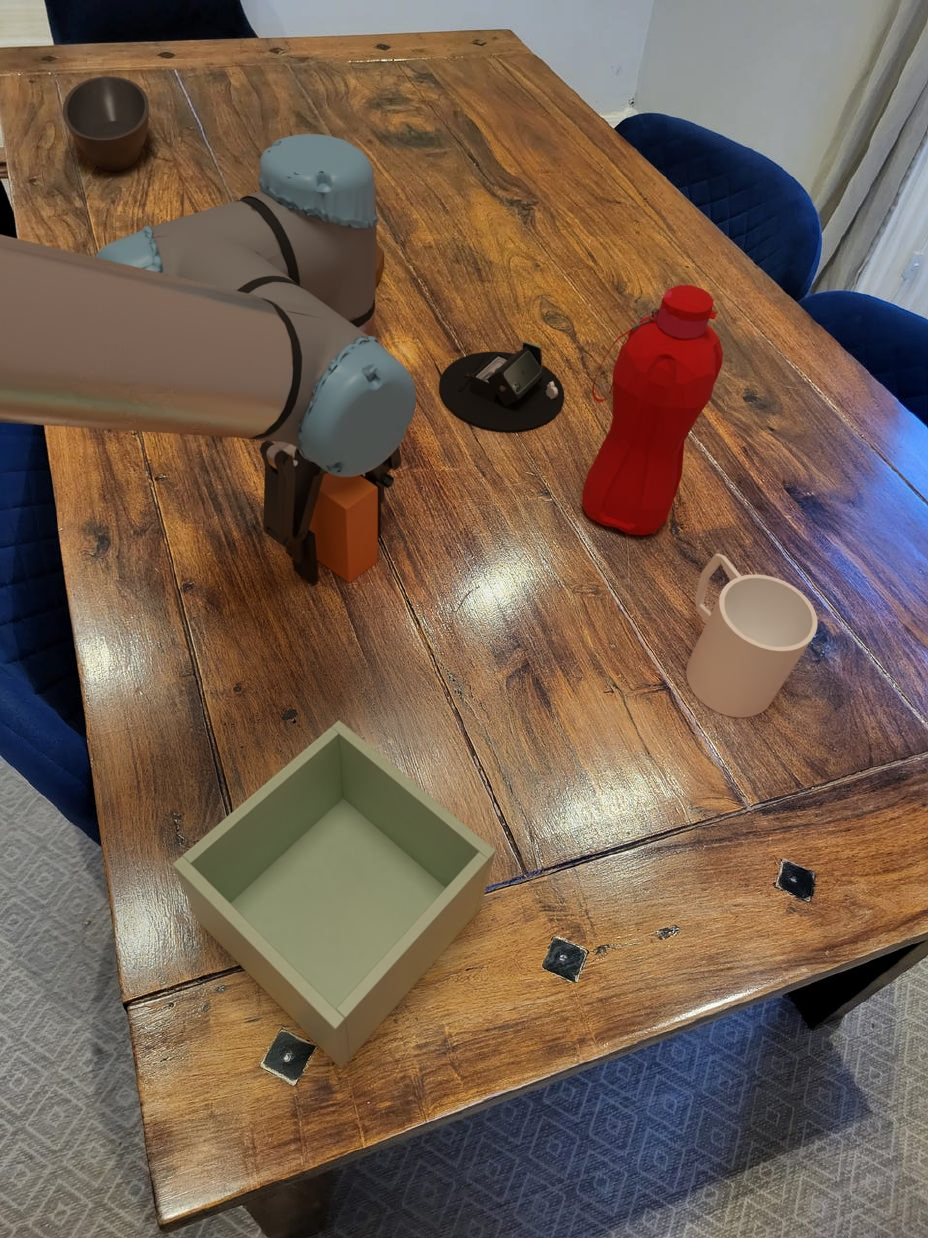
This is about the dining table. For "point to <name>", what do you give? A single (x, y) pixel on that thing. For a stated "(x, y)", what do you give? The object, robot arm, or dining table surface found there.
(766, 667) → the cup
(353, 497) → the orange rectangular prism
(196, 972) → the dining table surface
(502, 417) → the black round base
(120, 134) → the bowl
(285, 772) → the open square bin
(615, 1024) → the dining table surface
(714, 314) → the water bottle
